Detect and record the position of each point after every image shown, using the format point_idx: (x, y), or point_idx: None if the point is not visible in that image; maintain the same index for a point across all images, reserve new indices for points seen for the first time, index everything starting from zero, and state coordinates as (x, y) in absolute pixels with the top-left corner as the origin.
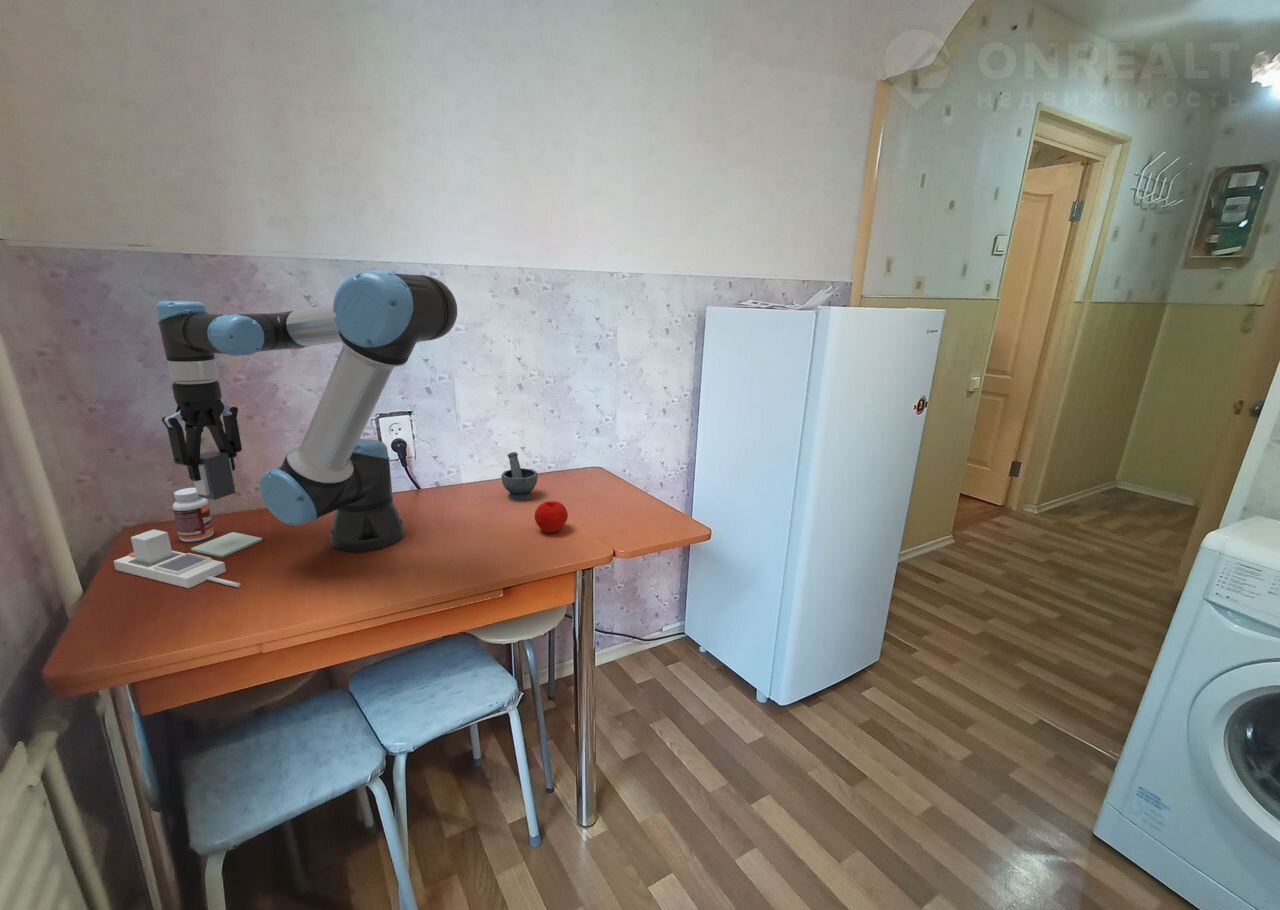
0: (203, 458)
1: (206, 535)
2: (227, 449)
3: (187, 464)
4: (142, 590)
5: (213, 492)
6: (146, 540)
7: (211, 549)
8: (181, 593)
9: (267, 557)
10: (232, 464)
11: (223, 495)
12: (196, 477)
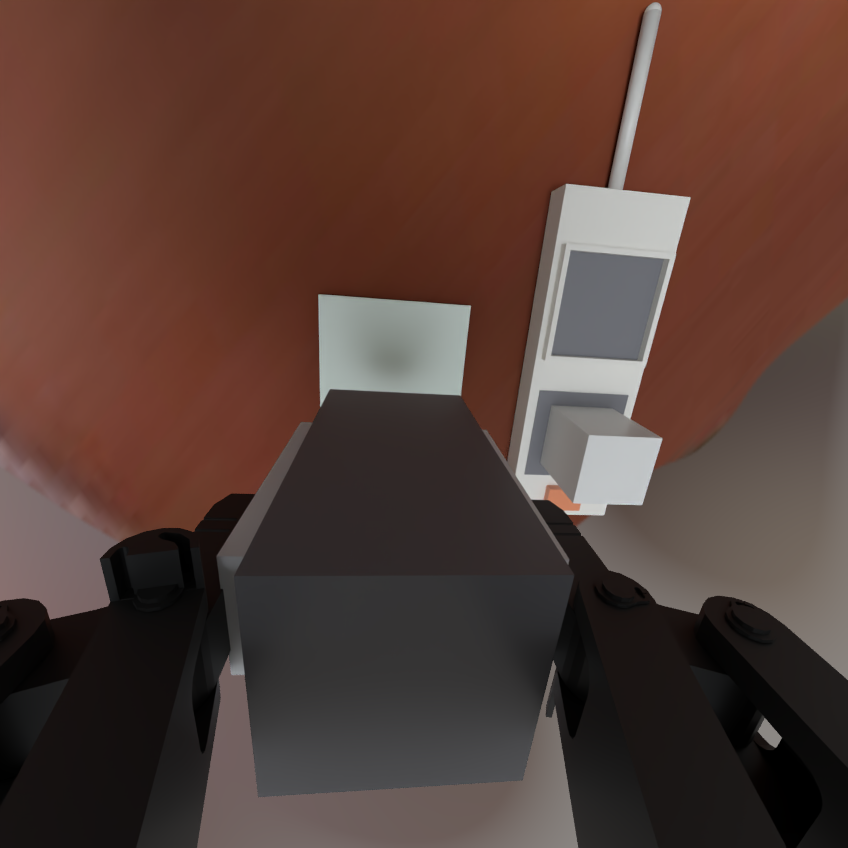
0: (561, 613)
1: None
2: (162, 669)
3: (717, 603)
4: (682, 328)
5: (465, 408)
6: (655, 437)
7: (445, 378)
8: (694, 195)
9: (426, 137)
10: (219, 525)
11: (404, 395)
12: (551, 516)
